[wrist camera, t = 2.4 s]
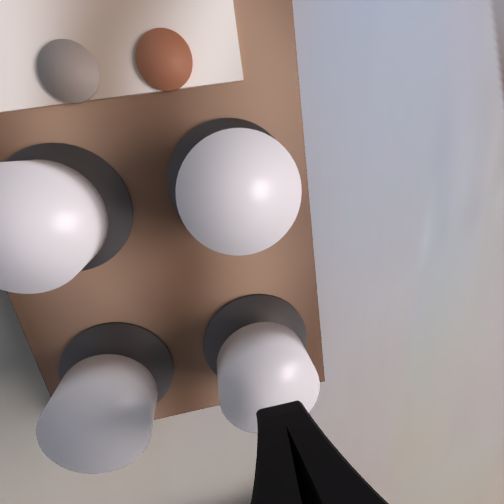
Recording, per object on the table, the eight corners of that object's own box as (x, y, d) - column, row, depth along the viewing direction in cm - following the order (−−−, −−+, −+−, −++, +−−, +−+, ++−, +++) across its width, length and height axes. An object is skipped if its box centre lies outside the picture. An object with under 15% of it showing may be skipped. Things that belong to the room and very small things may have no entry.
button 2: (75, 440, 13) (57, 484, 11) (44, 365, 12) (19, 401, 10) (166, 420, 13) (162, 459, 12) (145, 345, 12) (136, 376, 11)
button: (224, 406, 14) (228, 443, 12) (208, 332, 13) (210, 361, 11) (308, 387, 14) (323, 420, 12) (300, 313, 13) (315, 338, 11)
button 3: (191, 248, 11) (189, 265, 10) (168, 139, 10) (162, 138, 9) (291, 230, 12) (306, 244, 10) (280, 123, 11) (295, 118, 9)
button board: (83, 406, 17) (65, 445, 14) (-95, -59, 11) (-174, -114, 8) (311, 356, 18) (327, 386, 16) (267, -89, 12) (283, -143, 10)
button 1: (9, 280, 11) (-26, 305, 9) (-36, 169, 10) (-86, 174, 8) (121, 260, 11) (107, 280, 10) (89, 151, 10) (66, 151, 8)
